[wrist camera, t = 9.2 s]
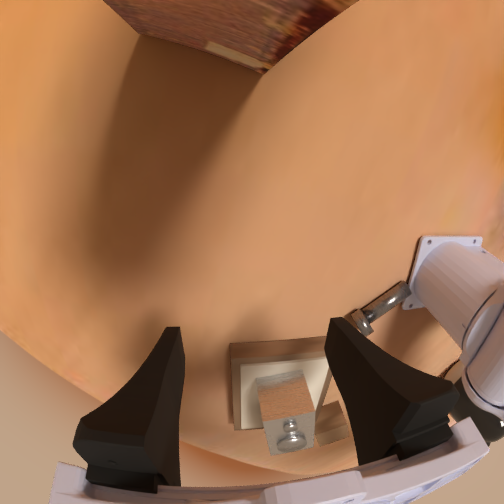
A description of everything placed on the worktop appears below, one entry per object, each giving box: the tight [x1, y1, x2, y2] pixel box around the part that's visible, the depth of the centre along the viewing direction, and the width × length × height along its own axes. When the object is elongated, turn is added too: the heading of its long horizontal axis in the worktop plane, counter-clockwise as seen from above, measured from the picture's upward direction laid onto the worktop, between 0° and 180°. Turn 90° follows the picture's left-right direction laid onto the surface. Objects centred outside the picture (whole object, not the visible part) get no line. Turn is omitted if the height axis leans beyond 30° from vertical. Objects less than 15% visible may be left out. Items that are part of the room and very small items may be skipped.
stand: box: [230, 336, 332, 431], centre depth 29 cm, size 10×13×2 cm
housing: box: [256, 369, 315, 456], centre depth 25 cm, size 4×8×6 cm, turn 8°
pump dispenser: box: [444, 360, 504, 447], centre depth 29 cm, size 10×10×15 cm
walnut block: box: [314, 401, 349, 446], centre depth 32 cm, size 4×4×4 cm
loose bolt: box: [351, 281, 412, 337], centre depth 25 cm, size 6×3×3 cm, turn 125°
